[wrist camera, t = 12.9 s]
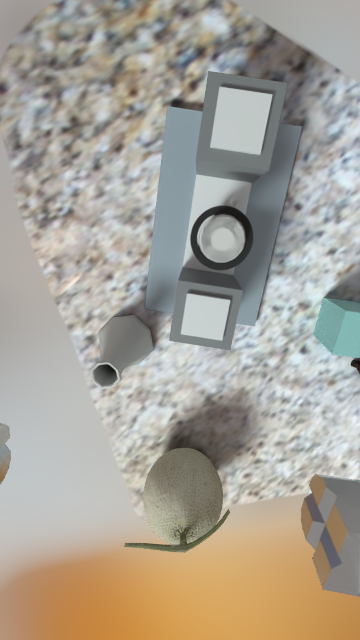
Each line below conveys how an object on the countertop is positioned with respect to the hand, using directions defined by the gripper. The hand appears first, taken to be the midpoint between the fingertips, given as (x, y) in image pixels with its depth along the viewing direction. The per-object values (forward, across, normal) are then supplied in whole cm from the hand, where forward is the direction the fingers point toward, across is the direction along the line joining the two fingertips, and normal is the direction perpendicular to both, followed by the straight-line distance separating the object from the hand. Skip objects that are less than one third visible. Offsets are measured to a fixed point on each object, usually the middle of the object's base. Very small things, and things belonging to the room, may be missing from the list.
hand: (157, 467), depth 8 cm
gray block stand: (+31, -2, -6) cm, 32 cm away
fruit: (+31, -4, +28) cm, 42 cm away
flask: (+31, +7, +10) cm, 34 cm away
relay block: (+25, -19, +3) cm, 32 cm away
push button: (+30, -2, -6) cm, 30 cm away
